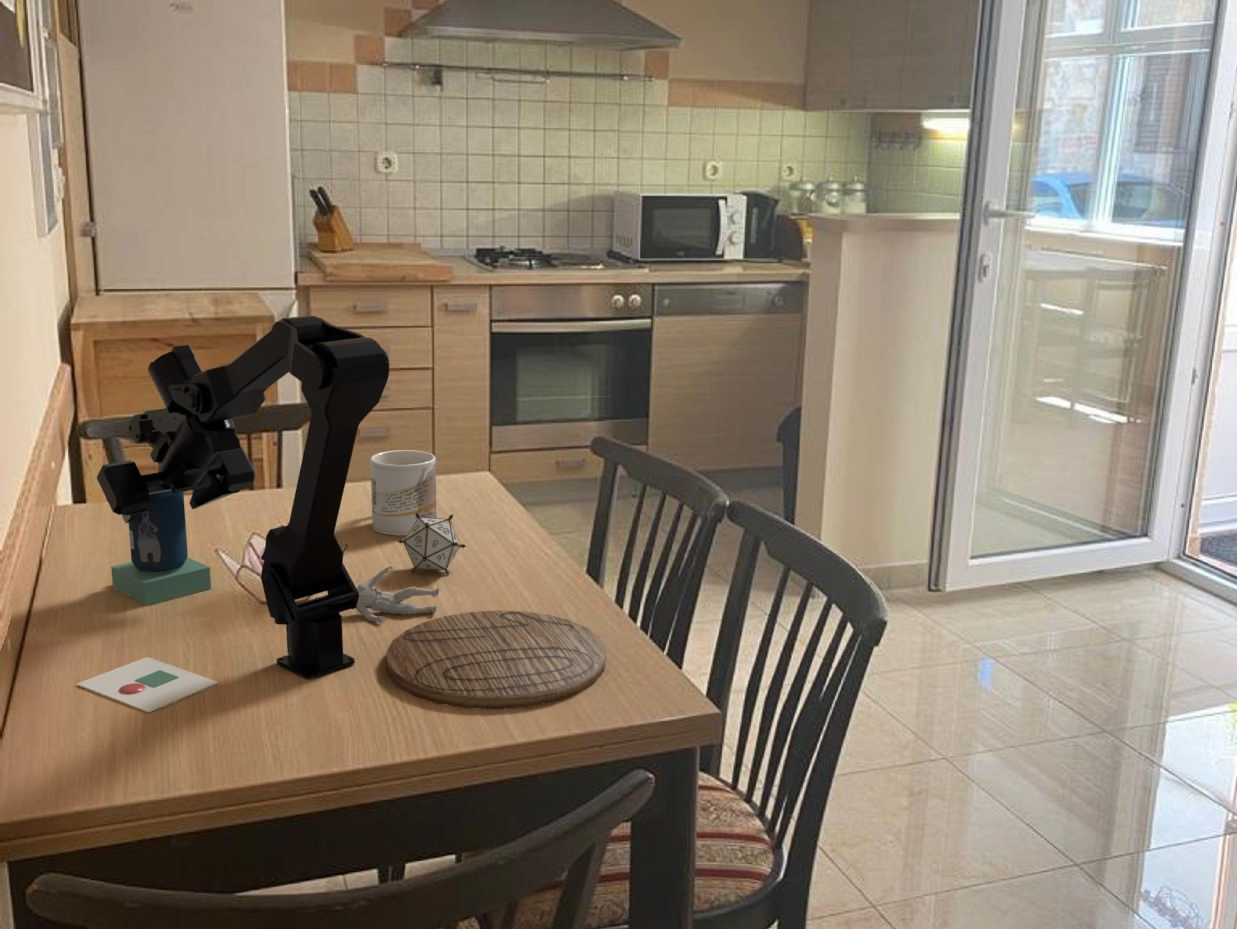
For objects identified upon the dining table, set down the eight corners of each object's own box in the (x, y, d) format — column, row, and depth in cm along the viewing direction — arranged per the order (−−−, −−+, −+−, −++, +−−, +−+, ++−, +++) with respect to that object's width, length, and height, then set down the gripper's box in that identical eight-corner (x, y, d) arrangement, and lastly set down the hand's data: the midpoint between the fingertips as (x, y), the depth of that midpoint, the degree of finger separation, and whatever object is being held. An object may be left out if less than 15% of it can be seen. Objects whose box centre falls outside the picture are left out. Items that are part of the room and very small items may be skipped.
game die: (444, 592, 177) (484, 534, 177) (429, 591, 168) (472, 530, 169) (393, 556, 178) (434, 498, 178) (377, 553, 169) (419, 492, 170)
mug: (356, 531, 191) (354, 461, 188) (392, 510, 202) (391, 444, 199) (419, 539, 188) (418, 467, 185) (452, 517, 199) (451, 449, 197)
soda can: (181, 555, 169) (175, 469, 166) (194, 570, 163) (188, 481, 160) (127, 563, 165) (120, 475, 162) (138, 579, 160) (131, 488, 157)
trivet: (369, 638, 151) (368, 623, 151) (566, 615, 160) (566, 601, 159) (411, 726, 128) (410, 709, 128) (637, 694, 137) (638, 678, 137)
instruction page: (218, 683, 137) (218, 681, 136) (148, 713, 129) (148, 710, 129) (147, 658, 143) (147, 656, 143) (76, 685, 135) (76, 682, 135)
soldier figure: (435, 631, 156) (340, 609, 152) (423, 645, 159) (330, 624, 155) (442, 575, 160) (350, 553, 156) (431, 590, 164) (340, 569, 160)
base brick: (211, 588, 165) (209, 567, 165) (146, 605, 159) (144, 583, 158) (172, 570, 172) (170, 549, 171) (108, 585, 166) (106, 564, 165)
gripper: (238, 381, 161) (199, 451, 171) (96, 400, 148) (63, 474, 158) (275, 451, 158) (233, 518, 168) (134, 477, 145) (98, 548, 154)
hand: (159, 512), depth 162 cm, fingers open, 9 cm apart
